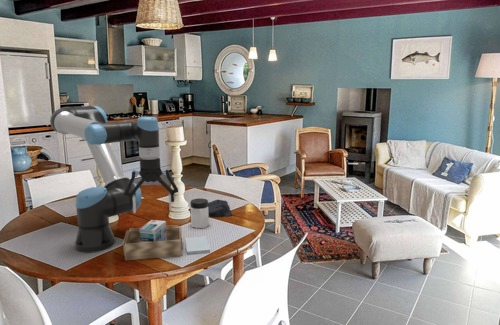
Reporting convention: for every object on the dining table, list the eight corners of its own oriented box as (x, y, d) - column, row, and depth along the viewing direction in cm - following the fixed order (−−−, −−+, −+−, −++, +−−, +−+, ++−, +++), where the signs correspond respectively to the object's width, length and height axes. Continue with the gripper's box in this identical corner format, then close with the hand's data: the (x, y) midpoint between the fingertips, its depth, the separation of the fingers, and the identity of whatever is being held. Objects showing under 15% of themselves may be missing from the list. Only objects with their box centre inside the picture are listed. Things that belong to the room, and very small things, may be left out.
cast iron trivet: (230, 204, 215) (230, 196, 214) (232, 217, 194) (232, 208, 193) (203, 205, 214) (203, 196, 213) (201, 218, 193) (201, 209, 192)
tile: (186, 254, 151) (186, 251, 151) (185, 240, 164) (185, 237, 164) (209, 252, 153) (209, 249, 152) (206, 238, 166) (206, 236, 166)
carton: (123, 261, 145) (122, 244, 144) (127, 244, 161) (126, 228, 159) (182, 255, 150) (182, 239, 148) (181, 240, 165) (180, 225, 164)
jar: (202, 220, 188) (201, 197, 186) (212, 225, 182) (212, 200, 180) (186, 225, 182) (186, 200, 180) (197, 230, 176) (196, 204, 174)
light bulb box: (156, 256, 149) (155, 230, 147) (140, 255, 151) (138, 228, 149) (167, 245, 160) (166, 220, 158) (152, 244, 161) (151, 219, 159)
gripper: (114, 160, 142) (118, 216, 146) (183, 158, 146) (185, 211, 151) (116, 157, 149) (120, 210, 153) (182, 154, 154) (184, 206, 158)
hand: (152, 211), depth 152 cm, fingers open, 13 cm apart
